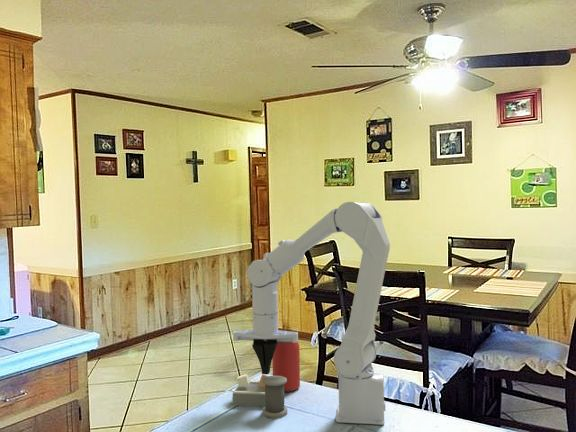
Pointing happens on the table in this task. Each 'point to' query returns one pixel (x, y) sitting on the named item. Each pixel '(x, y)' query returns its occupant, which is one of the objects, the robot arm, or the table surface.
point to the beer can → (287, 364)
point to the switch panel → (250, 395)
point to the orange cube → (261, 380)
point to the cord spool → (274, 396)
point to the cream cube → (243, 380)
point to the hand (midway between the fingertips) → (266, 372)
